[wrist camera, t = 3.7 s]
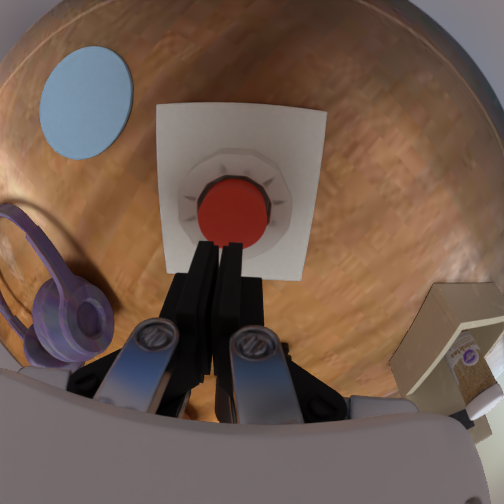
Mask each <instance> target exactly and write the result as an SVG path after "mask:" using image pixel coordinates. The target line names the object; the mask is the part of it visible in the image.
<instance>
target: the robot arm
mask: <svg viewBox="0 0 504 504" xmlns="http://www.w3.org/2000/svg"><path fill="white" fill-rule="evenodd" d="M242 256H243V243H238V242H229V245H228V246H224V245H223V249H222V254H221V259H220V264H219V245H214V241H199V242H198V245H197V248H196V251H195V253H194V256H193V259H192V262H191V265H190V268H189V271H188V273H179V272H177V273H176V274H175V276H174V279H173V281H172V284H171V286H170V289H169V291H168V294H167V297H166V299H165V302H164V305H163V307H162V310H161V313H160V315H159V318H158V317H157V318H150V319H147V320H144V321H142V322H141V323H139V324H138V325H137V326H136V327H135V328H134V330H133V331H132V333H131V335H130V336H129V338H128V339H127V341H126V343H125V344H124V346H123V348H121V349H119V350H117V351H115V352H113V353H111V354H109V355H107V356H104V357H102V358H100V359H98V360H96V361H94V362H92V363H90V364H88V365H86V366H84V367H81V368H80V369H78V370H77V371H75V372H72V371H71V370H70V369H58V368H47V367H37V366H25V367H23V368H21V369H20V370H19V371H18V372H15V371H11V370H8V369H3V368H0V504H491V501H490V496H489V490H488V485H487V481H486V477H485V474H484V470H483V466H482V463H481V460H480V457H479V455H478V452H477V449H476V447H475V445H474V442H473V440H472V438H471V436H470V434H469V433H468V431H467V430H466V428H465V427H464V426H463V425H462V424H461V423H460V422H459V421H457V420H456V419H454V418H451V417H448V416H445V415H440V414H435V413H425V412H419V409H418V407H417V406H416V405H415V403H413V402H412V401H410V400H408V399H404V398H384V397H369V396H357V395H351V396H350V398H348V397H342V396H341V395H340V394H339V393H338V392H337V391H335V390H334V389H332V388H331V387H329V386H328V385H326V384H325V383H323V382H322V381H320V380H319V379H317V378H316V377H314V376H313V375H311V374H310V373H308V372H307V371H306V370H304V369H303V368H301V367H300V366H298V365H297V364H296V363H294V362H293V361H291V360H290V359H289V358H287V357H286V356H285V355H284V352H283V349H282V345H281V342H280V340H279V338H278V336H277V335H276V334H275V333H274V332H273V331H272V330H270V329H268V328H267V327H264V310H263V289H262V277H244V276H241V275H242ZM212 355H213V364H214V375H215V376H218V386H219V387H220V388H221V389H222V390H223V391H224V392H225V393H227V394H228V395H229V404H230V412H231V420H232V424H230V423H216V422H205V421H196V420H187V419H182V418H183V415H184V413H185V410H186V407H187V404H188V401H189V398H190V395H191V389H192V388H194V387H196V386H197V385H199V383H203V382H204V375H210V371H211V363H212Z"/></svg>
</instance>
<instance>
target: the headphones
mask: <svg viewBox="0 0 504 504" xmlns="http://www.w3.org/2000/svg"><path fill="white" fill-rule="evenodd" d="M0 217H5V218H7V219H9V220H11V221H12V222H14V223H15V224H16V225H17V226H19V227H20V228H21V229H22V230H23V231H25V232H26V239H27V241H28V242H29V243H30V244H31V246H32V247H33V248H34V250H35V251H36V253H37V254H38V256H39V257H40V259H41V260H42V262H43V263H44V265H45V266H46V268H47V269H48V271H49V272H50V274H51V276H52V277H53V278H51V279H49V280H48V281H46V282H45V283H44V284H43V285H42V286H41V288H40V289H39V291H38V292H37V294H36V297H35V300H34V303H33V310H32V318H33V324H32V325H31V326H30V327H29V329H27V328H26V327H25V326H24V324H23V323H22V322H21V321H20V320H19V319H18V318H17V316H16V315H15V316H14V315H13V314H12V312H11V310H10V309H9V307H8V305H7V303H6V302H5V300H4V298H3V296H2V293H1V291H0V312H1V313H2V315H3V316H4V317H5V319H6V320H7V321H8V324H9V325H10V326H11V327H12V329H13V330H14V331H15V332H16V333H17V334H18V336H19V337H20V338H21V339H22V340H23V341H24V344H23V345H24V352H25V355H26V358H27V360H28V361H29V363H30V364H31V366H37V367H47V368H58V369H70V370H71V371H72V372H75V371H77V370H78V369H80V368H81V367H84V364H85V361H87V360H90V359H92V358H93V357H95V356H96V355H97V354H100V353H102V352H104V351H105V350H106V349H107V348H108V346H109V345H110V343H111V341H112V338H113V334H114V316H113V311H112V308H111V305H110V303H109V301H108V299H107V297H106V296H105V294H104V293H103V292H102V291H101V290H100V289H99V288H98V287H96V286H95V285H93V284H91V283H90V282H88V281H87V280H86V279H84V278H83V277H80V276H77V275H73V273H72V272H71V271H70V269H69V268H68V266H67V265H66V263H65V262H64V260H63V259H62V257H61V255H60V254H59V252H58V251H57V249H56V248H55V246H54V245H53V244H52V242H51V241H50V240H49V238H48V237H47V236H46V234H45V233H44V232H43V231H42V229H41V228H40V227H39V226H37V225H36V224H35V223H34V222H33V221H32V220H31V219H30V217H29V216H28V215H27V214H26V213H25V212H24V211H23V210H21V209H20V208H19V207H17V206H15V205H13V204H2V205H0Z"/></svg>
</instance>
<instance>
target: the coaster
mask: <svg viewBox="0 0 504 504" xmlns="http://www.w3.org/2000/svg"><path fill="white" fill-rule="evenodd" d="M132 102H133V83H132V77H131V74H130V71H129V69H128V67H127V65H126V63H125V62H124V60H123V59H122V58H121V57H120V56H119V55H118V54H117V53H115V52H114V51H112V50H110V49H107V48H103V47H97V46H92V47H85V48H82V49H79V50H77V51H75V52H73V53H71V54H69V55H68V56H67V57H65V58H64V59H63V60H62V61H61V62H60V63H59V64H58V65H57V66H56V67H55V69H54V70H53V71H52V73H51V74H50V76H49V78H48V80H47V82H46V84H45V86H44V89H43V92H42V96H41V102H40V122H41V127H42V130H43V133H44V135H45V138H46V140H47V141H48V143H49V144H50V146H51V147H52V148H53V149H54V150H55V151H56V152H58V153H59V154H60V155H62V156H64V157H67V158H70V159H76V160H82V159H88V158H91V157H94V156H96V155H98V154H100V153H102V152H103V151H104V150H106V149H107V148H108V147H109V146H111V145H112V144H113V143H114V141H115V140H116V139H117V138H118V137H119V135H120V134H121V132H122V130H123V129H124V127H125V125H126V123H127V120H128V118H129V115H130V111H131V107H132Z"/></svg>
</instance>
